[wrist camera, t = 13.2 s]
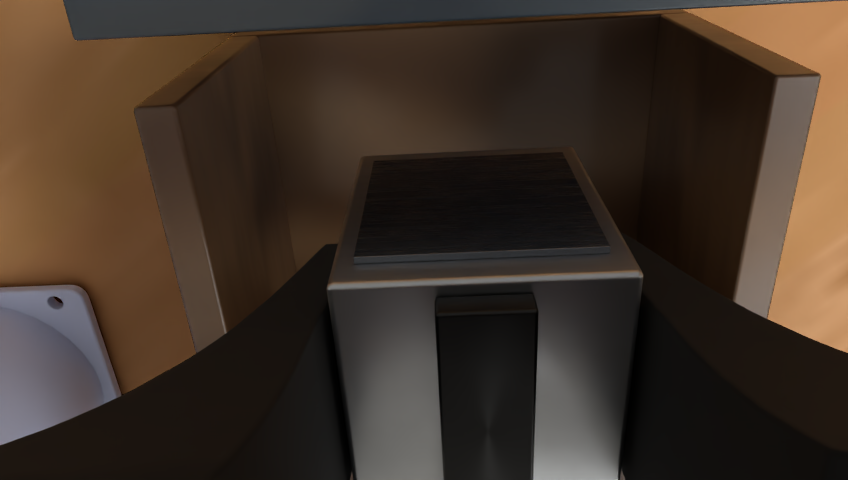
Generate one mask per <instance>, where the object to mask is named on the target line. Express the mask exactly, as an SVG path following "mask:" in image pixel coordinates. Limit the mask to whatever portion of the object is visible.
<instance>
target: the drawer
mask: <svg viewBox="0 0 848 480" xmlns="http://www.w3.org/2000/svg"><path fill="white" fill-rule="evenodd" d="M827 1H846V0H63V2H64V6H65V9H66V13H67V16H68V20H69V23H70V27H71V30H72V34H73V37H74V39H75V40H77V41H82V40H101V39H120V38H139V37H158V36H177V35H196V34H215V33H234V32H236V33H235V34H234V35H232V36H231V37H230V38H228V39H227V40H226V41H224V42H223V43H222V44H220V45H219V46H218V47H216V48H215V49H214V50H212V51H211V52H209V53H208V54H207V55H205V56H204V57H203V58H201V59H200V60H199V61H197V62H196V63H195V64H193V65H192V66H190V67H189V68H188V69H186V70H185V71H184V72H182V73H181V74H180V75H178V76H177V77H175V78H174V79H173V80H171V81H170V82H169V83H167V84H166V85H165V86H163V87H162V88H161V89H159V90H158V91H156V92H155V93H154V94H152V95H151V96H150V97H148V98H147V99H146V100H144V101H143V102H142V103H140V104H139V105H137V106H136V107H135V108H134V114H135V118H136V122H137V125H138V129H139V133H140V137H141V141H142V145H143V149H144V153H145V156H146V160H147V164H148V168H149V172H150V176H151V180H152V184H153V187H154V191H155V195H156V199H157V203H158V207H159V211H160V215H161V219H162V222H163V226H164V230H165V234H166V238H167V242H168V246H169V250H170V253H171V257H172V261H173V265H174V269H175V273H176V277H177V281H178V284H179V288H180V292H181V296H182V300H183V304H184V308H185V312H186V316H187V319H188V323H189V327H190V331H191V335H192V339H193V343H194V347H195V350H196V353H198V352H199V351H201V350H202V349H204V348H205V347H207V346H208V345H210V344H211V343H213V342H214V341H216V340H217V339H219V338H220V337H221V336H223V335H224V334H226V333H227V332H228V331H230V330H231V329H232V328H234V327H235V326H236V325H237V324H239V323H240V322H241V321H242V320H243V319H245V318H246V317H247V316H248V315H249V314H251V313H252V312H253V311H254V310H255V309H257V308H258V307H259V306H260V305H261V304H263V303H264V302H265V301H266V300H267V299H269V298H270V297H271V296H272V295H273V294H274V293H275V292H276V291H278V290H279V289H280V288H281V287H282V286H283V285H284V284H285V283H286V282H287V281H288V280H289V279H290V278H291V277H292V276H293V275H294V274H296V273H297V272H298V271H299V270H300V269H301V268H302V267H303V266H304V265H305V264H306V263H307V262H308V261H309V260H310V259H311V258H312V257H313V256H314V255H315V254H316V253H317V252H318V251H319V250H320V249H321V248H322V247H323V246H324V245H326V244H338V243H339V239H340V235H341V231H342V227H343V223H344V220H345V216H346V212H347V208H348V204H349V200H350V197H351V193H352V189H353V185H354V181H355V178H356V174H357V170H358V166H359V162H360V159H361V157H363V156H377V155H398V154H420V153H441V152H462V151H484V150H505V149H526V148H548V147H569V146H570V147H572V148H573V149H574V150H575V152H576V154H577V156H578V158H579V159H580V161H581V163H582V165H583V167H584V168H585V170H586V172H587V174H588V176H589V177H590V179H591V181H592V183H593V185H594V186H595V188H596V190H597V192H598V194H599V195H600V197H601V199H602V201H603V203H604V204H605V206H606V208H607V210H608V212H609V213H610V215H611V217H612V219H613V221H614V222H615V224H616V226H617V228H618V229H619V231H620V232H622V233H624V234H626V235H627V236H629V237H631V238H632V239H634V240H636V241H637V242H639V243H640V244H642V245H643V246H645V247H646V248H648V249H649V250H651V251H652V252H654V253H656V254H657V255H659V256H660V257H662V258H663V259H665V260H666V261H668V262H669V263H671V264H672V265H674V266H675V267H677V268H678V269H680V270H681V271H683V272H685V273H686V274H688V275H689V276H691V277H693V278H694V279H696V280H697V281H699V282H701V283H702V284H704V285H706V286H707V287H709V288H711V289H712V290H714V291H716V292H717V293H719V294H721V295H723V296H725V297H726V298H728V299H730V300H732V301H734V302H735V303H737V304H739V305H741V306H743V307H745V308H746V309H748V310H750V311H752V312H754V313H756V314H758V315H760V316H762V317H764V318H766V319H767V317H768V313H769V308H770V304H771V299H772V294H773V290H774V285H775V281H776V276H777V272H778V267H779V263H780V258H781V254H782V249H783V245H784V240H785V236H786V231H787V227H788V222H789V218H790V213H791V209H792V204H793V200H794V195H795V191H796V186H797V182H798V177H799V173H800V168H801V164H802V159H803V155H804V150H805V146H806V141H807V137H808V132H809V128H810V123H811V119H812V114H813V110H814V105H815V101H816V96H817V91H818V87H819V82H820V78H821V76H820V74H819V73H817V72H815V71H813V70H811V69H808V68H806V67H804V66H802V65H800V64H798V63H796V62H794V61H791V60H789V59H787V58H785V57H783V56H781V55H779V54H776V53H774V52H772V51H770V50H768V49H766V48H764V47H762V46H759V45H757V44H755V43H753V42H751V41H749V40H747V39H744V38H742V37H740V36H738V35H736V34H734V33H732V32H730V31H727V30H725V29H723V28H721V27H719V26H717V25H715V24H712V23H710V22H708V21H706V20H704V19H702V18H700V17H698V16H695V15H693V14H691V13H688V12H686V11H684V10H682V9H693V8H712V7H731V6H750V5H769V4H789V3H808V2H827Z"/></svg>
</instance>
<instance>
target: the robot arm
mask: <svg viewBox="0 0 848 480" xmlns="http://www.w3.org/2000/svg"><path fill="white" fill-rule="evenodd" d="M620 233H621V235H622V237H623V238H624V240H625V242H626V244H627V246H628V247H629V249H630V251H631V253H632V255H633V256H634V258H635V260H636V262H637V264H638V265H639V267H640V269H641V271H642V273H643V283H642V292H641V301H640V309H639V318H638V327H637V336H636V344H635V353H634V362H633V371H632V380H631V388H630V397H629V406H628V415H627V423H626V432H625V441H624V450H623V458H622V467H621V469H622V472H623V475H624V477H625V480H848V353H846V352H843V351H840V350H837V349H835V348H832V347H830V346H827V345H825V344H822V343H820V342H817V341H815V340H812V339H810V338H808V337H805V336H803V335H801V334H799V333H797V332H794V331H792V330H790V329H788V328H786V327H783V326H781V325H779V324H777V323H774V322H772V321H770V320H768V319H766V318H764V317H762V316H760V315H758V314H756V313H754V312H752V311H750V310H748V309H746V308H745V307H743V306H741V305H739V304H737V303H735V302H734V301H732V300H730V299H728V298H726V297H725V296H723V295H721V294H719V293H717V292H716V291H714V290H712V289H711V288H709V287H707V286H706V285H704V284H702V283H701V282H699V281H697V280H696V279H694V278H693V277H691V276H689V275H688V274H686V273H685V272H683V271H681V270H680V269H678V268H677V267H675V266H674V265H672V264H671V263H669V262H668V261H666V260H665V259H663V258H662V257H660V256H659V255H657V254H656V253H654V252H652V251H651V250H649V249H648V248H646V247H645V246H643V245H642V244H640V243H639V242H637V241H636V240H634V239H632V238H631V237H629V236H627V235H626V234H624V233H622V232H620ZM337 246H338V244H326V245H324V246H323V247H322V248H321V249H320V250H319V251H318V252H317V253H316V254H315V255H314V256H313V257H312V258H311V259H310V260H309V261H308V262H307V263H306V264H305V265H304V266H303V267H302V268H301V269H300V270H299V271H298V272H297V273H296V274H294V275H293V276H292V277H291V278H290V279H289V280H288V281H287V282H286V283H285V284H284V285H283V286H282V287H281V288H280V289H279V290H278V291H276V292H275V293H274V294H273V295H272V296H271V297H270V298H269V299H267V300H266V301H265V302H264V303H263V304H261V305H260V306H259V307H258V308H257V309H255V310H254V311H253V312H252V313H251V314H249V315H248V316H247V317H246V318H245V319H243V320H242V321H241V322H240V323H239V324H237V325H236V326H235V327H234V328H232V329H231V330H230V331H228V332H227V333H226V334H224V335H223V336H221V337H220V338H219V339H217V340H216V341H214V342H213V343H211V344H210V345H208V346H207V347H205V348H204V349H202V350H201V351H199V352H198V353H196V354H195V355H193V356H192V357H190V358H189V359H187V360H185V361H184V362H182V363H180V364H179V365H177V366H175V367H173V368H171V369H170V370H168V371H166V372H164V373H162V374H161V375H159V376H157V377H155V378H153V379H152V380H150V381H148V382H146V383H144V384H143V385H141V386H139V387H137V388H135V389H134V390H132V391H130V392H128V393H126V394H124V395H121V392H120V389H119V386H118V383H117V380H116V377H115V374H114V371H113V368H112V365H111V362H110V359H109V356H108V353H107V350H106V347H105V344H104V341H103V338H102V335H101V332H100V329H99V326H98V323H97V320H96V317H95V314H94V311H93V308H92V305H91V302H90V299H89V296H88V294H87V293H86V291H85V290H84V289H82V288H81V287H79V286H76V285H48V286H24V287H0V480H350V478H351V473H352V467H351V460H350V453H349V446H348V438H347V431H346V424H345V417H344V410H343V403H342V395H341V388H340V381H339V374H338V367H337V360H336V353H335V345H334V338H333V331H332V324H331V317H330V310H329V302H328V295H327V285H328V281H329V277H330V273H331V269H332V266H333V262H334V258H335V254H336V250H337ZM53 296H54V297H58V298H60V299H61V300H62V302H63V303H59V302H58V301H56V300H55V299H54V297H53Z"/></svg>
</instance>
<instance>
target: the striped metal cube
mask: <svg viewBox="0 0 848 480" xmlns="http://www.w3.org/2000/svg"><path fill="white" fill-rule="evenodd" d="M642 283H643V273H642V271H641V269H640V267H639V265H638V264H637V262H636V260H635V258H634V256H633V255H632V253H631V251H630V249H629V247H628V246H627V244H626V242H625V240H624V238H623V237H622V235H621V233H620V231H619V229H618V228H617V226H616V224H615V222H614V221H613V219H612V217H611V215H610V213H609V212H608V210H607V208H606V206H605V204H604V203H603V201H602V199H601V197H600V195H599V194H598V192H597V190H596V188H595V186H594V185H593V183H592V181H591V179H590V177H589V176H588V174H587V172H586V170H585V168H584V167H583V165H582V163H581V161H580V159H579V158H578V156H577V154H576V152H575V150H574V149H573V148H572V147H570V146H569V147H548V148H526V149H505V150H484V151H462V152H441V153H420V154H398V155H377V156H363V157H361V159H360V162H359V166H358V170H357V174H356V178H355V181H354V185H353V189H352V193H351V197H350V200H349V204H348V208H347V212H346V216H345V220H344V223H343V227H342V231H341V235H340V239H339V243H338V246H337V250H336V254H335V258H334V262H333V266H332V269H331V273H330V277H329V281H328V285H327V295H328V302H329V310H330V317H331V324H332V331H333V338H334V345H335V353H336V360H337V367H338V374H339V381H340V388H341V395H342V403H343V410H344V417H345V424H346V431H347V438H348V446H349V453H350V460H351V467H352V474H353V480H620V476H621V467H622V458H623V450H624V441H625V432H626V423H627V415H628V406H629V397H630V388H631V380H632V371H633V362H634V353H635V344H636V336H637V327H638V318H639V309H640V301H641V292H642Z"/></svg>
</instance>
